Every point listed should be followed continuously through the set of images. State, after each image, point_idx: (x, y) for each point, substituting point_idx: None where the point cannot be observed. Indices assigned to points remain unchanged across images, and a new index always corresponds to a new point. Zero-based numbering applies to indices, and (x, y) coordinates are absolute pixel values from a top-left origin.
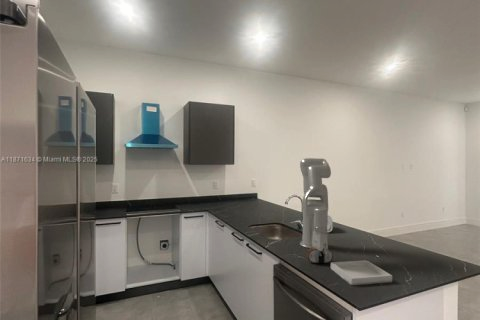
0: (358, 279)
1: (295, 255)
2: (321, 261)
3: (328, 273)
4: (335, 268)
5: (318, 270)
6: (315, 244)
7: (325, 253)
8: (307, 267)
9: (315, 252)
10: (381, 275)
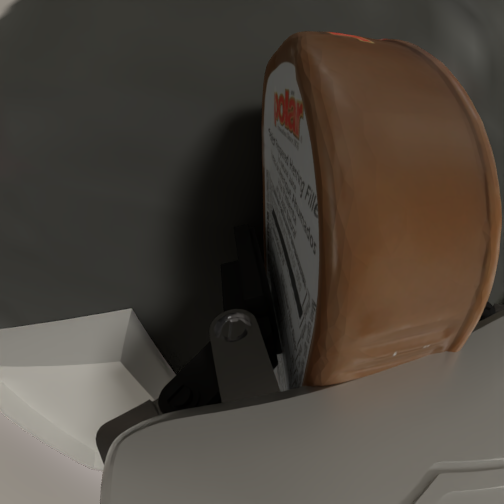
0: None
1: (484, 18)
2: (223, 267)
3: (14, 259)
4: (52, 348)
5: (35, 168)
6: (454, 485)
7: (102, 438)
8: (96, 25)
9: (304, 276)
10: (69, 456)
